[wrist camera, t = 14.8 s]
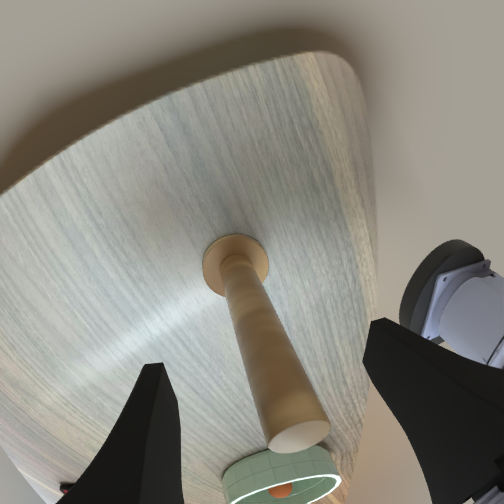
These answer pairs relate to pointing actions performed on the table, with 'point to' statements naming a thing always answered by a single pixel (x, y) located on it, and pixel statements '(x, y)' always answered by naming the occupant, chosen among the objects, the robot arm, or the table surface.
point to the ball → (280, 490)
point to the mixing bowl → (281, 477)
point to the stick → (265, 347)
